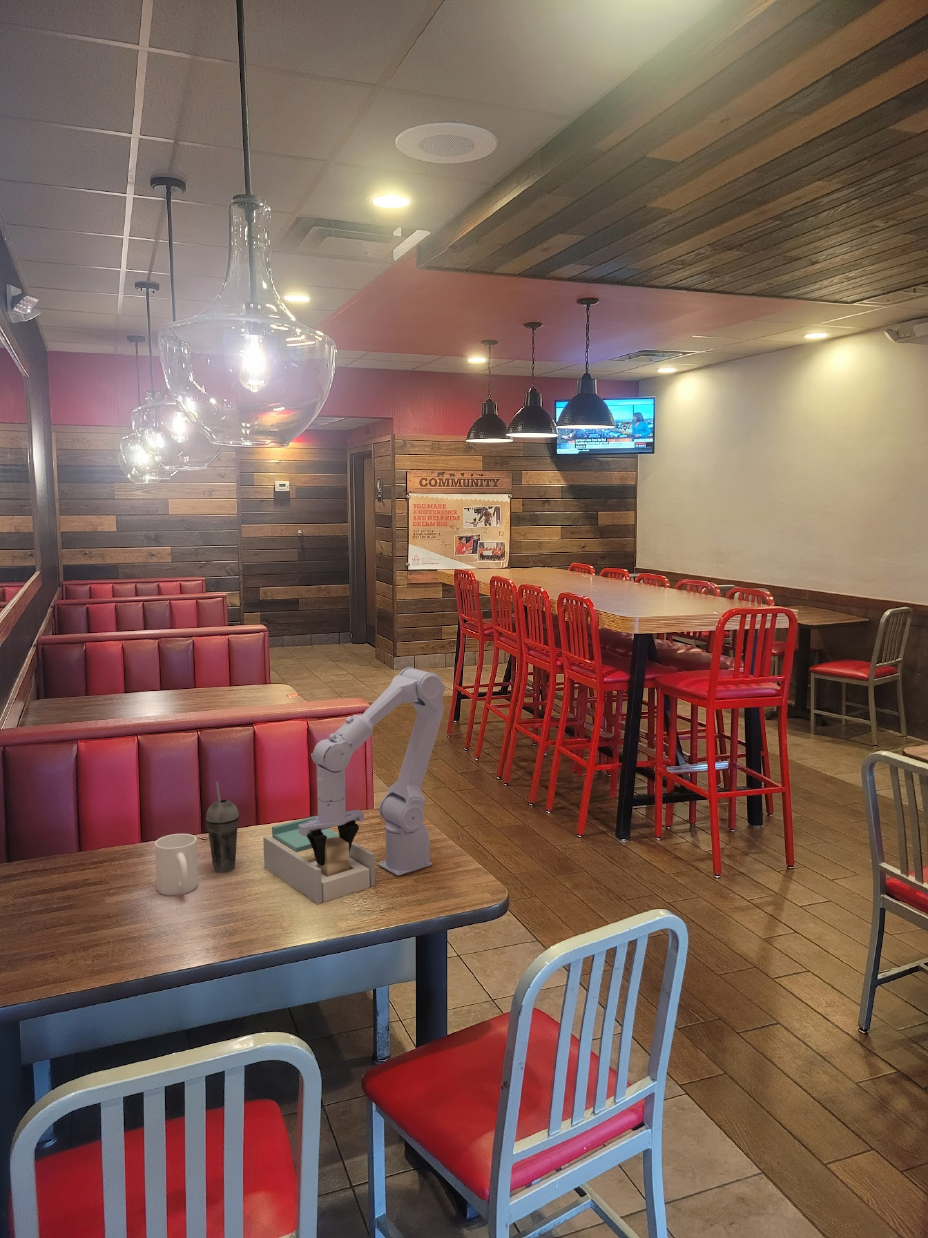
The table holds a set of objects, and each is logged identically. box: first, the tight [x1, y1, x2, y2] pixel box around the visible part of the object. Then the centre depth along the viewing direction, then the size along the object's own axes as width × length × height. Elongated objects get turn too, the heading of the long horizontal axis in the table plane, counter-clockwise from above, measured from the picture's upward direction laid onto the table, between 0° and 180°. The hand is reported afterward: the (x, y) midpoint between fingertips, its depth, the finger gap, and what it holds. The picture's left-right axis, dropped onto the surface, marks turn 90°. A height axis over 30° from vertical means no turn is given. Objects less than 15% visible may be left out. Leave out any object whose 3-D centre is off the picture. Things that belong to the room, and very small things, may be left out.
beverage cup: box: [204, 781, 240, 874], centre depth 189 cm, size 7×7×20 cm
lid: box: [271, 815, 339, 853], centre depth 189 cm, size 11×11×2 cm
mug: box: [154, 833, 199, 897], centre depth 179 cm, size 12×8×10 cm
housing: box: [263, 832, 376, 905], centre depth 186 cm, size 14×24×7 cm, turn 39°
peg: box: [317, 836, 350, 876], centre depth 181 cm, size 5×5×6 cm
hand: (332, 860), depth 181 cm, fingers closed on peg, 5 cm apart
